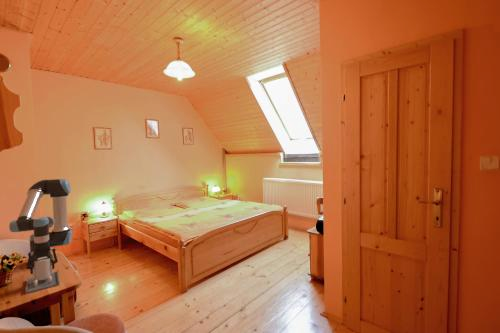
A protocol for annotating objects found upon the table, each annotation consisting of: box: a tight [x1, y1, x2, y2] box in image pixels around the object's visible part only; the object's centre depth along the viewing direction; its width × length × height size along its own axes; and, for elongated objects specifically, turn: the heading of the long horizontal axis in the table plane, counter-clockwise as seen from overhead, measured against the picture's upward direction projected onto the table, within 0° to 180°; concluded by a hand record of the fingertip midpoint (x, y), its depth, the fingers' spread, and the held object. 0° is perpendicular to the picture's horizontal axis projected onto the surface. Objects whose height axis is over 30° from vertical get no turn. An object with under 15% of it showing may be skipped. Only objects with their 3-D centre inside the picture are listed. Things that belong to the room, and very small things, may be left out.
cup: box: [33, 257, 52, 280], centre depth 159 cm, size 8×8×12 cm
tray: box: [24, 269, 60, 295], centre depth 159 cm, size 22×16×5 cm
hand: (43, 276), depth 159 cm, fingers closed on cup, 8 cm apart
